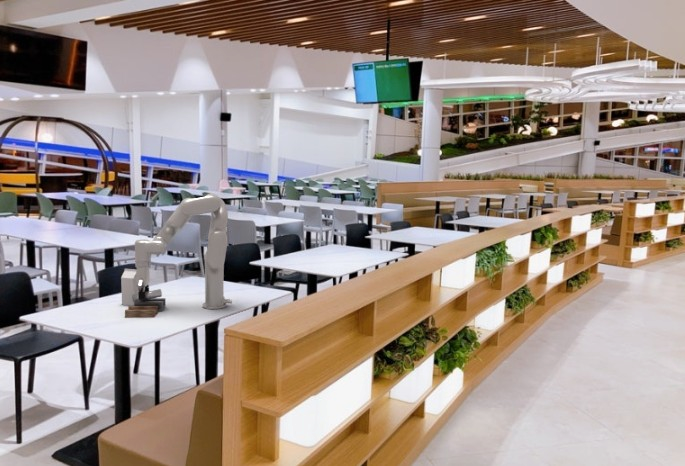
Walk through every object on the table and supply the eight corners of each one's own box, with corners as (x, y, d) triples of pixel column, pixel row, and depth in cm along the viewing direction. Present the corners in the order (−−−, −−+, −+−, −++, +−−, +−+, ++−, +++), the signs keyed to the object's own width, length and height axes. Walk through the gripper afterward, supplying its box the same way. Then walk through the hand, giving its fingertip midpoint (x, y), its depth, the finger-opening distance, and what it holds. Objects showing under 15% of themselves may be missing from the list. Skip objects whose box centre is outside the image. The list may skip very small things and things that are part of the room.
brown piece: (157, 312, 294) (157, 306, 294) (154, 317, 287) (154, 310, 286) (129, 313, 293) (129, 306, 292) (125, 317, 285) (124, 310, 285)
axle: (162, 295, 301) (160, 288, 301) (160, 297, 297) (158, 290, 297) (135, 301, 300) (133, 293, 300) (133, 303, 296) (131, 295, 296)
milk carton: (134, 306, 305) (133, 270, 302) (121, 305, 307) (120, 270, 304) (141, 302, 312) (140, 268, 309) (129, 301, 313) (128, 267, 311)
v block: (165, 307, 304) (165, 298, 304) (162, 311, 297) (162, 302, 296) (138, 307, 303) (137, 298, 302) (134, 311, 295) (134, 302, 294)
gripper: (139, 260, 304) (140, 292, 307) (131, 267, 287) (132, 301, 290) (154, 260, 305) (155, 292, 307) (146, 267, 288) (147, 301, 290)
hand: (143, 296), depth 298 cm, fingers open, 8 cm apart
